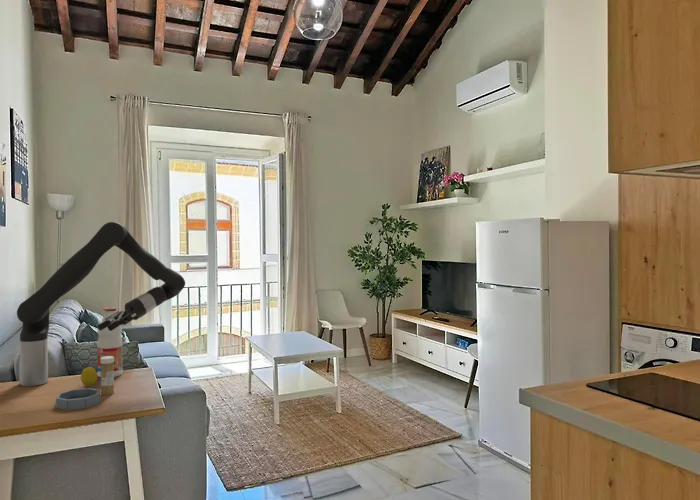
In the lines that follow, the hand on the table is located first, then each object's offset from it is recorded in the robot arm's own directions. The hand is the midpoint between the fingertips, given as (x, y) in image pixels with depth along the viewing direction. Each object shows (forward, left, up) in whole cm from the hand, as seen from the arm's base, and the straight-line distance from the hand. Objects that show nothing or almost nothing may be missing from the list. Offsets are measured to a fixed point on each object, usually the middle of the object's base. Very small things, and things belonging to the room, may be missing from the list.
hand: (103, 328), depth 191 cm
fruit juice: (-18, +18, -24) cm, 35 cm away
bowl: (+2, -13, -24) cm, 27 cm away
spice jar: (+2, -1, -24) cm, 24 cm away
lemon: (-11, +2, -24) cm, 26 cm away
